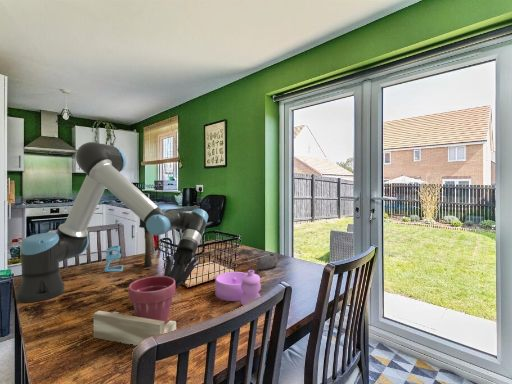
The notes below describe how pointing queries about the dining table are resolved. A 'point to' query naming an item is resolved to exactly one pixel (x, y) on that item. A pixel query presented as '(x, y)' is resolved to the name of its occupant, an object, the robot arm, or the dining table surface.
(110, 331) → the corner stop
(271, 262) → the perforated stone tool
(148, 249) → the potato masher grenade
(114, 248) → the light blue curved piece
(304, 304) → the dining table surface
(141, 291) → the plant pot
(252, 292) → the container set
